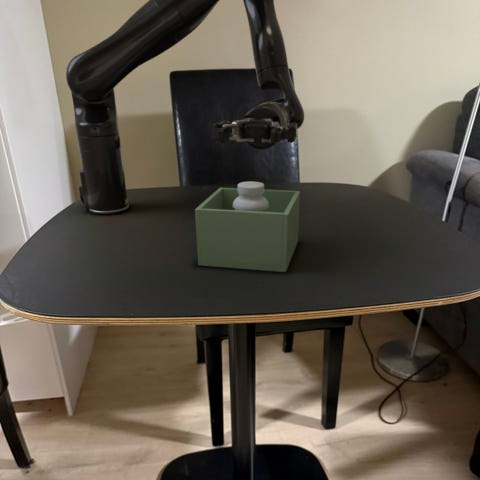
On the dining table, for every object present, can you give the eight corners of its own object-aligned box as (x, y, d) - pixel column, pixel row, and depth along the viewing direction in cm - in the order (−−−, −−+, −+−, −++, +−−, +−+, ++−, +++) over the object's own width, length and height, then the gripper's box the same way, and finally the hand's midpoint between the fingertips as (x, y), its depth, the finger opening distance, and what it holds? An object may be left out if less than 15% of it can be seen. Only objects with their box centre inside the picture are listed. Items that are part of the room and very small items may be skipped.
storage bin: (198, 265, 84) (194, 209, 80) (221, 236, 98) (219, 187, 93) (285, 272, 81) (288, 214, 76) (297, 241, 94) (300, 190, 90)
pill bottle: (231, 242, 92) (230, 180, 86) (265, 240, 92) (266, 179, 87) (234, 254, 86) (233, 189, 80) (270, 253, 87) (271, 188, 81)
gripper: (229, 103, 91) (204, 111, 77) (304, 104, 88) (291, 112, 75) (230, 144, 95) (205, 159, 81) (301, 147, 92) (289, 162, 78)
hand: (247, 137), depth 78 cm, fingers open, 8 cm apart
